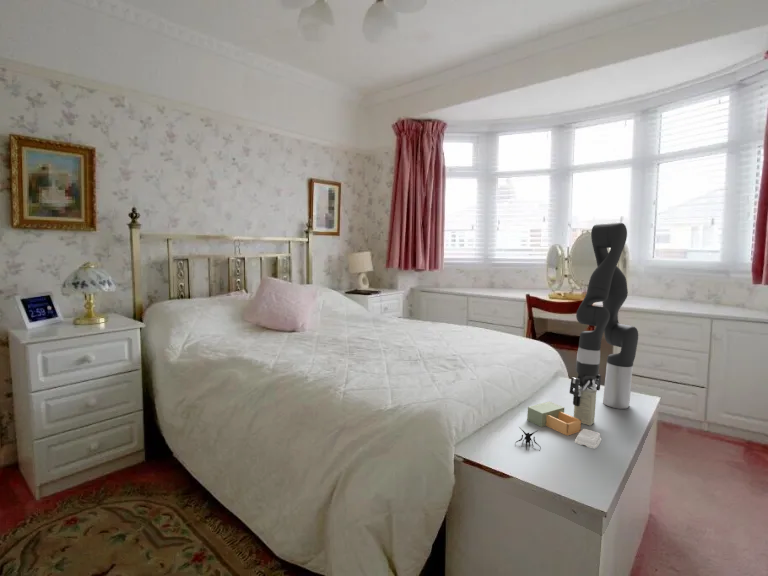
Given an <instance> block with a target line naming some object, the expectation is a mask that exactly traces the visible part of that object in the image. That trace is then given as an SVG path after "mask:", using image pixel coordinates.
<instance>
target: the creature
mask: <svg viewBox="0 0 768 576" xmlns="http://www.w3.org/2000/svg"><path fill="white" fill-rule="evenodd" d="M518 428H519V429H520V430H521V431H522V432H523V434H521V437H520V439H519V440H517V441H515V443H518V442H521V441H522V443H520V446H523V444H524V441H525V447H526V448H525V449H526V451H527V449H530V448H531V449H534V450H535V451H536V448H534V444H536V445H537V446H538V447H539V450H538V451H539V452H541V450H542V448H541V445H539V443H537V441H536V439H535V438H536V437H535V436H533V435H534V434H535V433H536V432H538V431H539V429H538V430H535V431H534V432H531V433H530V432H525V431H524V429H522V428H521V427H520V426H518ZM531 436H533V439H532V438H531ZM531 445H532V447H531ZM516 446H517V445H516V444H514V447H516Z"/></svg>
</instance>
